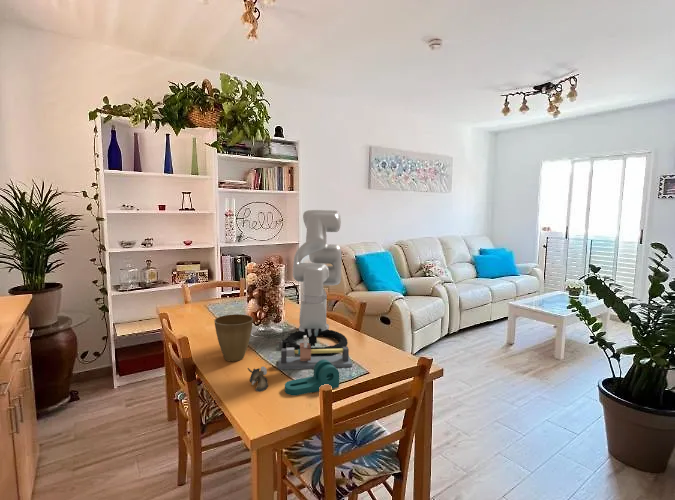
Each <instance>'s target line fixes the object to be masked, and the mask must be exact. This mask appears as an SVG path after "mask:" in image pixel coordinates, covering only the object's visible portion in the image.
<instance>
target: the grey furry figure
mask: <svg viewBox="0 0 675 500" xmlns="http://www.w3.org/2000/svg"><path fill="white" fill-rule="evenodd" d="M247 370H248V372H250V373H251V374H250V378H249V382H250V383H251V384H250V386H251V387H252V386H254V385H255V384H256V383H257V385H256V387H255V391H256V392H258V393H261V392H263V391H266V390H267V389H268V387H269V382H268V379H267V377H266V375H267V374H268V369H267V367H266V366H261V367H260V368H259V367H258V368H255V367H254V368H253V369H252V370H251V369H250V368H249V367H248V368H247Z"/></svg>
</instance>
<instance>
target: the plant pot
mask: <svg viewBox="0 0 675 500" xmlns="http://www.w3.org/2000/svg"><path fill="white" fill-rule="evenodd" d="M213 320H214V328H215V332H216V336H217V341H218V345H219V347H220V350H221V353H222V356H223V358H224V360H225V361H227V362H238V361H241V360H242V359H244V357H245V355H246V352H247V349H248V346H249V343H250V338H251V334H252V331H253V330H252V329H253V324H254V317H253V316H251V315H248V314H243V313H242V314H241V313H238V314H235V313H234V314H233V313H232V314H225V315H221V316H218V317H216V318H215V319H213Z"/></svg>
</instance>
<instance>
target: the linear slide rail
mask: <svg viewBox="0 0 675 500" xmlns="http://www.w3.org/2000/svg"><path fill="white" fill-rule="evenodd" d="M280 350H281V351H280V357H279V358H278V370H295V369H298V370H301V369H302V368H303V369H314V367H315V365H316V363H317V362H318V361H320V360H328V361H329V362H330V363H331V364H332V365H333V366H334V367H335V368H344V367H345V368H352V367H353V363H352V361H351V358H350V355H349V351H350V349H349V347H348V346H346V347H342V348H340V349H311V354H315V353H335V354H338V353H339V354H341V355H326V356H311V361H300V349H298V350H294V348H281V349H280ZM295 355H299V356H295ZM303 369H302V370H303Z"/></svg>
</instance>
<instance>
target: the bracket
mask: <svg viewBox="0 0 675 500" xmlns="http://www.w3.org/2000/svg"><path fill="white" fill-rule="evenodd" d="M324 384H329V385H331V386H332V388H333V389H336V388H339V387H340V372H339V370H338V369H337V367H334V366H333V365H332V364H331V363H330V362H329V361H328V360H320V361H318V362H317V363H316V365H315V367H314V368H313V376H309V377H308V376H307V377H302V378H298V379H296V378H295V379H291V380H288V381H287V382H285V383H284V393H285V394H286V395H289V396H292V397H293V396H300V395H305V394H307V395H308V394H311V393H315V392H316V393H317V392H320V391H319V387H320V386H321V385H324Z"/></svg>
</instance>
